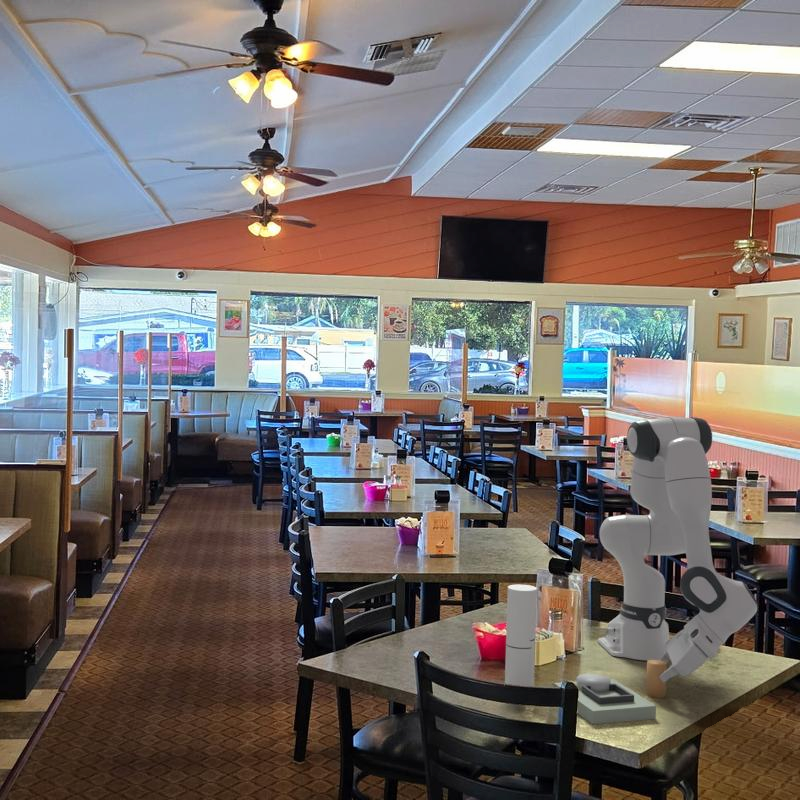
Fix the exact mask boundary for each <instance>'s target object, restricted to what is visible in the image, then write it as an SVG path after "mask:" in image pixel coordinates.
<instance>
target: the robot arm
mask: <svg viewBox="0 0 800 800" xmlns="http://www.w3.org/2000/svg"><path fill="white" fill-rule="evenodd" d="M626 444H627V448H628V451H629V452H630V454H631V455H632V456H633V460H632V468H631V480H630V488H629V490H630V492H629V493H630V496H631V498H632V499H633V501H634V502H635V503H637V504H638V505H640V506H642V507H643V508H645V509H647V510H649V514H645V515H641V514H640V515H639V514H638V515H637V514H620V515H613V516H609V517H608V516H607V518H605V519H604V520H603V522H602V523H601V525H600V527H599V534H598V535H599V540H600V543H601V545H602V547H603V548H604V549H605V550H606V551H607V552H608V553H609V554H610V555H612V556H613V557H614V559H615V560H616V561H617V563H618V565H619V567H620V569H621V571H622V577H623V601H619V603H621V604H619V606H620V610H619V614H618V615H617V616H616V617H614V618H613V619H612V620H610V621H609V622H608V624H607V626H606V629H605V633H606V636H603V637H599V638H598V639H597V643H598V644H600V646H601V647H603V648H604V649H605V650H606V652H608V653H609V654H610V655H611V656H612V657H613V656H614V657H619V658H627V659H631V660H637V661H638V660H639V661H648V660H660V661H664V662H666V665H668V663H670V662H671V663H672V664H671V665H670V666H669V667H668V668H666V671H663V672H662V673H661V674H660V675H659V677H660V679H661V680H662V681H663V682H666V683H667V681H669V679H672V678H674V677H675V676H677V675H679V674H680V675H681V677H682V678H683V677H684V678H685V677H687V676H689V675H692V673H694V672H696V670H698V669H699V668H700V667H702V666H703V665H704V664H705V663H706V662H707V661H708V659H709V660H713V659H714V658H715V657H717V655H718V651H719V648H720V647H721V646H722V645H723V644H724V643H726V642H727V640H728V639H729V637H730V636H731V635H732V634H734V633H736V632H738V631H739V630H741V629H742V627H744V626H745V625H746V624H747V623H748V622H749V621H750V620H751V619H752V618H753V617H754V616H755V615H756V613H757V611H758V608H759V607H758V606H759V605H758V601H757V599H756V598H755V596H754V594H753V593H752V590H750V589H749V587H748V585H747V584H745V582H743V581H739V580H736V579H733V578H729V577H727V576H724V575H722V574H720V573H719V572H718V571H717V569H716V568H715V565H714V562H713V554H712V548H711V541H710V531H709V528H710V526H709V525H710V515H711V509H712V501H713V500H712V499H713V498H712V497H713V495H712V494H713V491H712V490H713V489H712V487H713V486H712V478H711V473H710V466H709V462H708V459H707V455H706V454H708V452H709V451H710V449H711V447H712V444H713V432H712V429H711V426H710V424H709V423H708V421H707V420H706V419H703V418H700V417H695V416H690V417H683V416H668V417H660V418H658V417H657V418H652V419H646V418H645V419H644V418H643V419H640V420H636V421H633V422H632V423H631V424H630V425H629V427H628V429H627V434H626ZM681 554H685V556H686V563H687V564H686V565H687V566H686V571H684V573H683V574H682V575H681V578H680V580H679V581H680V582H679V587H680V591H681V594H682V596H683V598H684V599H685V600H686V601H687V602H688V603H690V605H692V606H694V607H697V608H698V609H699V613H698V614H696V615H695V616H694V617H692V619H691V620H689V621H688V622H687V623H686V624H685V625H683V629H681V630H679V632H677V633H675V635H674V636H672V637H670V633H669V631H670V630H669V623H668V622H667V621H666V620H665V619H666V617H667V616H666V615H667V607H666V604H665V600H666V599H665V598H666V597H665V595H666V594H665V592H666V580H665V577H664V575H663V574H662V573H661V572H660V571H659V570H657V569H656V568H655V567H653V566H650V565H649V564H646V563H645V556H676V555H681Z"/></svg>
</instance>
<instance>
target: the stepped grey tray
mask: <svg viewBox="0 0 800 800" xmlns="http://www.w3.org/2000/svg"><path fill="white" fill-rule="evenodd" d="M562 682H563V681H562ZM562 682H554V683H553V688H554V687H561V684H562ZM572 682H573V683H575V684H576V685H577V686H578V688H579V698H578V713H577V714H578V715H580V717H582V718H583V719H584V720H586V721H587V722H588V723H590V724H592V725H601V724H612V723H613V724H614V723H625V722H637V721H645V720H646V721H647V720H657V718H656V717H657V705H655V704H654V703H652V702H651V701H649V700H648V699H646V698H644V697H643V696H642V695H640V694H638V693H636V692H635V691H633V690H632V689H630V688H629V687H627V686H626V685H624V684H622V683H621V682H619V681H618V680H616V679H614V678H609V677H608V676H605V675H602V674H597V673H583V674H582V673H581V674H579V675H578V676H576V681H572Z"/></svg>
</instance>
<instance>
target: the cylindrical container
mask: <svg viewBox="0 0 800 800" xmlns="http://www.w3.org/2000/svg"><path fill="white" fill-rule="evenodd" d="M537 590H538V588H537V587H536V586H533V585H531V584H530V585H529V584H520V583H519V584H511V585H508V586H507V597H506V598H507V600H506V634H505V635H506V636H505V663H504V664H505V666H504V667H505V669H504V684H505V683H506V684H512V685H520V686H534V687H535V662H536V661H535V659H536V657H535V655H536V627H537V622H536V621H537V596H538V595H537V593H538V591H537Z"/></svg>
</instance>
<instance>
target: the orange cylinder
mask: <svg viewBox="0 0 800 800" xmlns="http://www.w3.org/2000/svg"><path fill="white" fill-rule="evenodd" d="M666 670H667V664H666V662H664V661H660V660H646V683H645V695H646V696H648V697H650V698H655V699H664V698H665V697H666V693H667V692H666V690H667V689H666V687H667V685H666V684H667V681H666V682H663V681H662V680H661V679H660V677H659V675H660V674H661V673H662V672H663V671H666Z"/></svg>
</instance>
